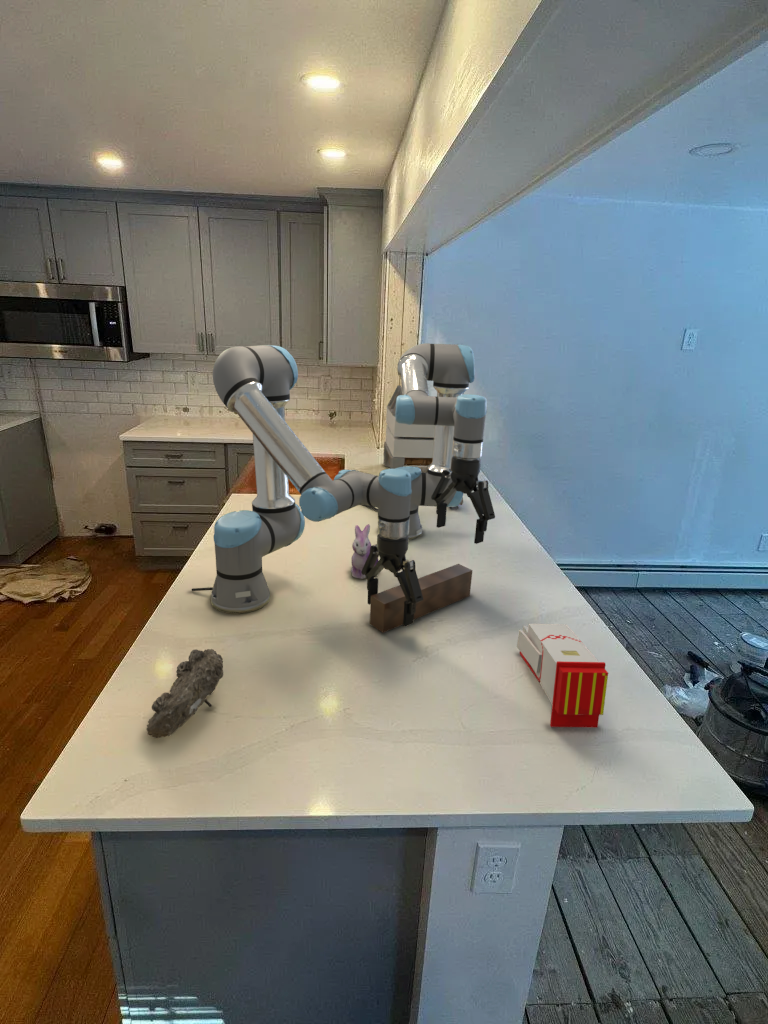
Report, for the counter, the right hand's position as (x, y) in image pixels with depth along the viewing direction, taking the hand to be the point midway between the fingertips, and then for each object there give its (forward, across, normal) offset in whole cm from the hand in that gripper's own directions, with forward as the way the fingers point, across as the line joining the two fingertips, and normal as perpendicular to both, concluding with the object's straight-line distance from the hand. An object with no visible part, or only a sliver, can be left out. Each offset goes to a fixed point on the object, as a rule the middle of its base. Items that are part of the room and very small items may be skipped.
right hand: (459, 534), depth 152 cm
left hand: (+16, 0, -24) cm, 29 cm away
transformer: (+19, -96, +80) cm, 126 cm away
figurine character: (+19, -54, +58) cm, 81 cm away
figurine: (+19, -26, -11) cm, 34 cm away
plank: (+19, 0, -12) cm, 22 cm away
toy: (+19, +40, -12) cm, 46 cm away
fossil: (+19, 0, -75) cm, 77 cm away
